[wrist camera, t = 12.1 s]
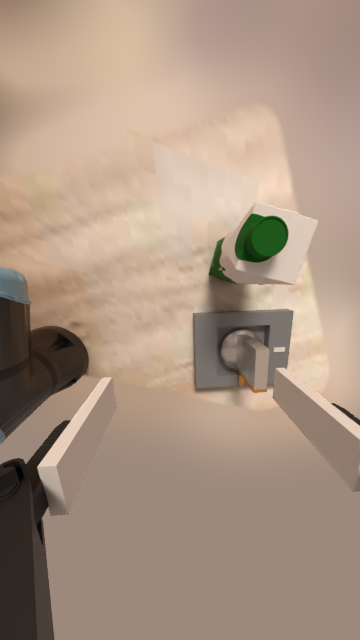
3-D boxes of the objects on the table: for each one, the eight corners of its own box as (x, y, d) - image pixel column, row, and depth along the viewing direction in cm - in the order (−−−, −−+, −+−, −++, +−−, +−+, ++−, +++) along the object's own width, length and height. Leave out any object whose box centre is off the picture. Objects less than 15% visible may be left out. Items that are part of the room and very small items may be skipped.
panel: (194, 382, 44) (196, 389, 41) (193, 313, 40) (194, 315, 37) (279, 377, 44) (286, 383, 42) (286, 309, 40) (294, 311, 38)
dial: (219, 329, 40) (235, 346, 30) (261, 327, 40) (290, 342, 30) (219, 368, 42) (233, 396, 32) (258, 365, 43) (285, 392, 32)
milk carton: (214, 235, 36) (263, 182, 17) (254, 246, 37) (345, 208, 17) (203, 277, 38) (236, 273, 18) (241, 287, 39) (311, 292, 19)
